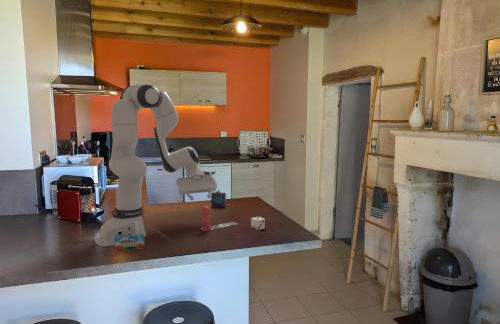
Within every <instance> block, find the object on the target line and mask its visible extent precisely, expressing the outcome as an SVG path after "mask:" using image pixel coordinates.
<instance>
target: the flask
mask: <svg viewBox="0 0 500 324" xmlns="http://www.w3.org/2000/svg"><path fill="white" fill-rule="evenodd" d="M220 190H221V189H217V191H216V190H215V191H212V192H211V198H210V201H211V203H210V204H211V205H210V206H211V207H213V208H226V207H227V193H226V192H224V191H223V192H221V191H220Z"/></svg>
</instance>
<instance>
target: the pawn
mask: <svg viewBox="0 0 500 324" xmlns="http://www.w3.org/2000/svg"><path fill="white" fill-rule="evenodd" d="M201 211H202V216H201V217H202V226H201V228H202V229H201V230H202V231H203V230H208V231H212V230H211V229H212V228H211V226H212V225H211V208H210V207H209V206H208V205H207V206H203V207H202V209H201Z"/></svg>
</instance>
